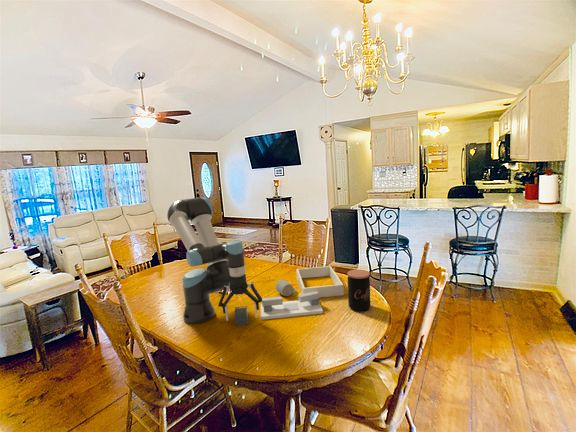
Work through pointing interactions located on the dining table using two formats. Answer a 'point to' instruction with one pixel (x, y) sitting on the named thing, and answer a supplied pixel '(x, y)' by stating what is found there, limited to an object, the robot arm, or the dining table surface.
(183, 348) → the dining table surface
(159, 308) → the dining table surface
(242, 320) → the dark grey block
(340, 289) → the tray
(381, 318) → the dining table surface
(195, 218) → the robot arm
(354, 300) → the coffee jar
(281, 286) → the ceramic mug
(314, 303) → the white base plate
